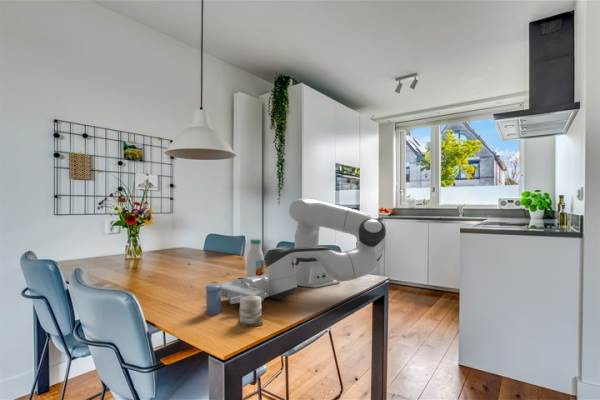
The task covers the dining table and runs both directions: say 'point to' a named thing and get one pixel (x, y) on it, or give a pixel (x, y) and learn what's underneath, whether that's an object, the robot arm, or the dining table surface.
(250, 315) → the stand
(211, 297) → the blue canister
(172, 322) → the dining table surface
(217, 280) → the dining table surface
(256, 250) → the milk bottle
